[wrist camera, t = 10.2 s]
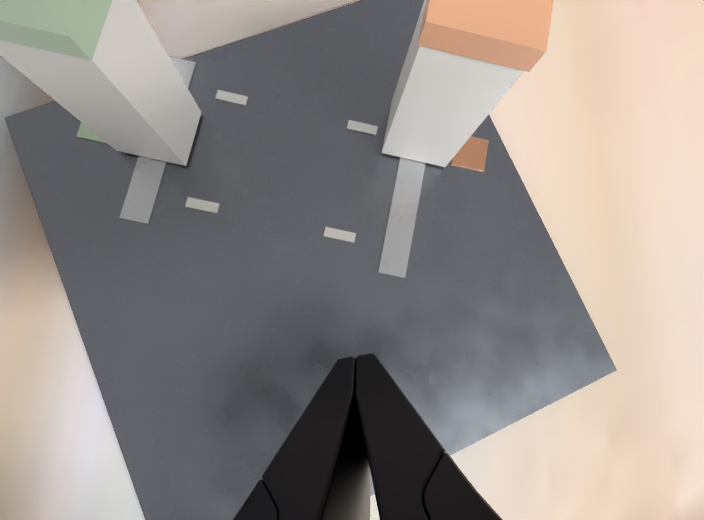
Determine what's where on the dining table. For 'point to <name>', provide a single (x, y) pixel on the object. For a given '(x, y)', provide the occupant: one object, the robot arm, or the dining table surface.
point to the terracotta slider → (461, 72)
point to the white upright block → (103, 72)
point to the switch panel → (298, 263)
